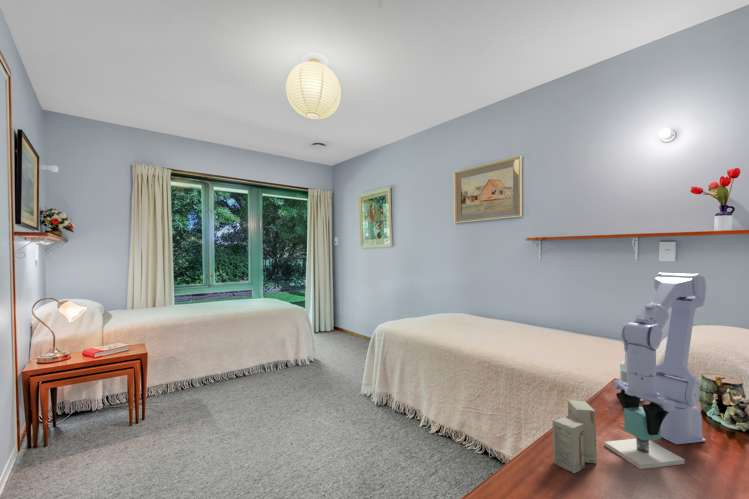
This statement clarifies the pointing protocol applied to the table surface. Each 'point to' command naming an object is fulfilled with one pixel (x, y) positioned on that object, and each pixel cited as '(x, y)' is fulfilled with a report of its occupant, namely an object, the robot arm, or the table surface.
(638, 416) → the teal brick on tray
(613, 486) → the table surface
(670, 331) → the robot arm
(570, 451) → the skincare box
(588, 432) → the skincare box
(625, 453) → the post board
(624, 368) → the spray bottle
